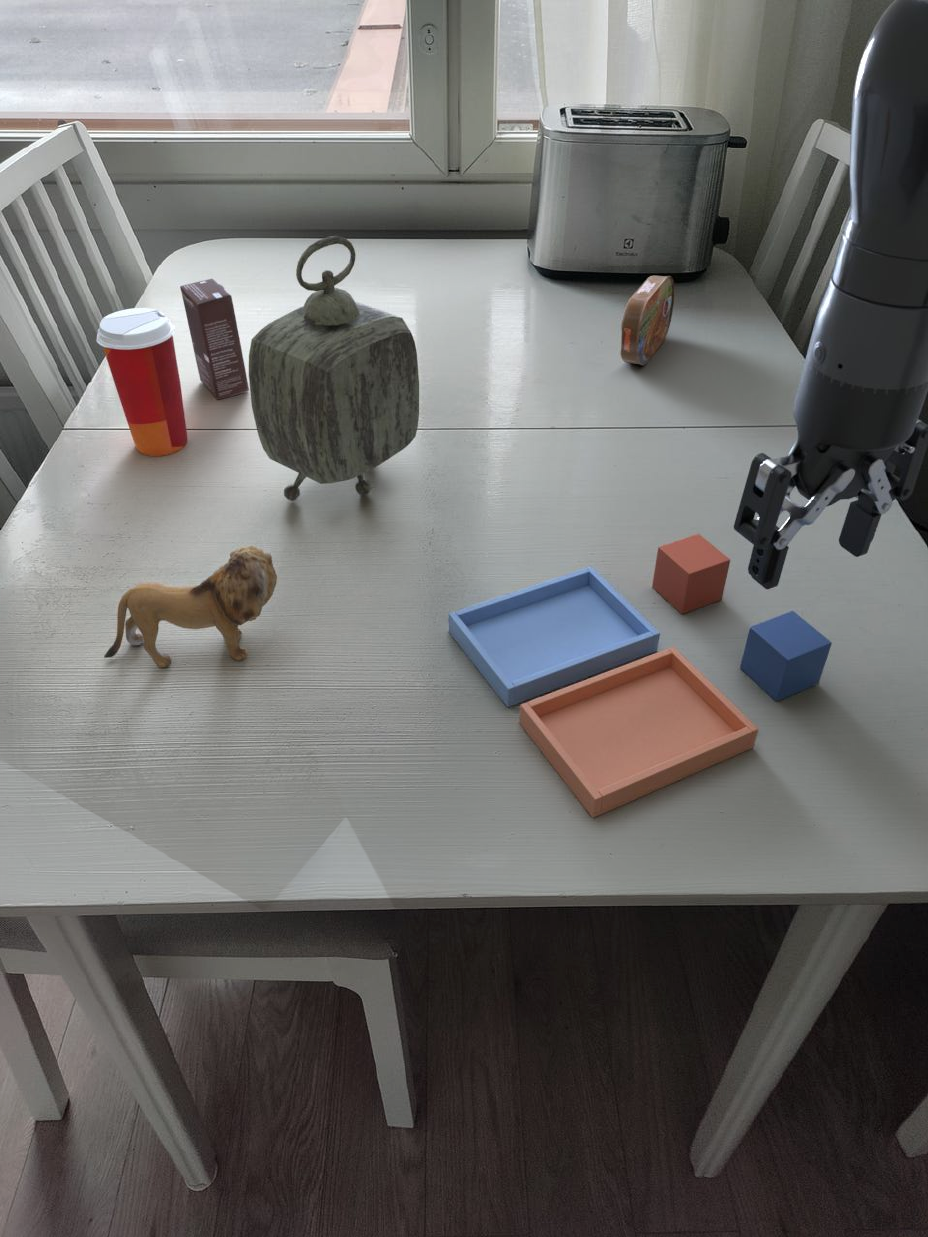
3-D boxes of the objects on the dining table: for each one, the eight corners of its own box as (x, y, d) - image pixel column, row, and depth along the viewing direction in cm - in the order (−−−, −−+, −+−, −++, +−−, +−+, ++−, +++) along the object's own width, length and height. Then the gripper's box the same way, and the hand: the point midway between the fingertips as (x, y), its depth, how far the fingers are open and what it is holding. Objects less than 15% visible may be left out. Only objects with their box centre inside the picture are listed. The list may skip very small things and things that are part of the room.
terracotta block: (691, 572, 87) (698, 533, 84) (722, 599, 84) (730, 559, 81) (651, 586, 86) (657, 546, 83) (681, 614, 83) (689, 574, 80)
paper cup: (179, 419, 110) (152, 299, 101) (209, 445, 105) (185, 322, 96) (113, 440, 106) (80, 318, 97) (142, 469, 101) (110, 343, 92)
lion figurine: (283, 614, 83) (269, 528, 77) (289, 654, 79) (275, 567, 73) (106, 642, 80) (78, 555, 74) (104, 685, 76) (74, 597, 70)
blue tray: (589, 583, 86) (591, 566, 85) (657, 651, 79) (660, 633, 78) (448, 631, 81) (448, 613, 80) (507, 707, 74) (508, 689, 73)
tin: (636, 376, 118) (644, 309, 112) (612, 371, 119) (619, 305, 113) (672, 330, 128) (681, 267, 123) (649, 326, 129) (657, 263, 124)
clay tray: (670, 664, 78) (673, 646, 77) (753, 747, 71) (759, 728, 70) (519, 722, 73) (519, 704, 72) (592, 818, 66) (595, 799, 65)
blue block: (781, 651, 79) (792, 610, 76) (819, 684, 76) (832, 642, 73) (739, 667, 78) (749, 626, 75) (776, 702, 75) (788, 660, 72)
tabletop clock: (367, 445, 105) (349, 208, 89) (429, 473, 100) (422, 229, 84) (266, 502, 96) (227, 250, 80) (329, 535, 92) (301, 276, 76)
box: (197, 382, 117) (178, 284, 109) (232, 373, 119) (216, 276, 111) (214, 401, 113) (196, 302, 105) (250, 392, 115) (235, 293, 107)
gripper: (828, 407, 54) (767, 624, 65) (1001, 357, 59) (918, 566, 70) (740, 355, 59) (697, 565, 70) (907, 313, 64) (843, 514, 75)
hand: (808, 565), depth 70 cm, fingers open, 8 cm apart
